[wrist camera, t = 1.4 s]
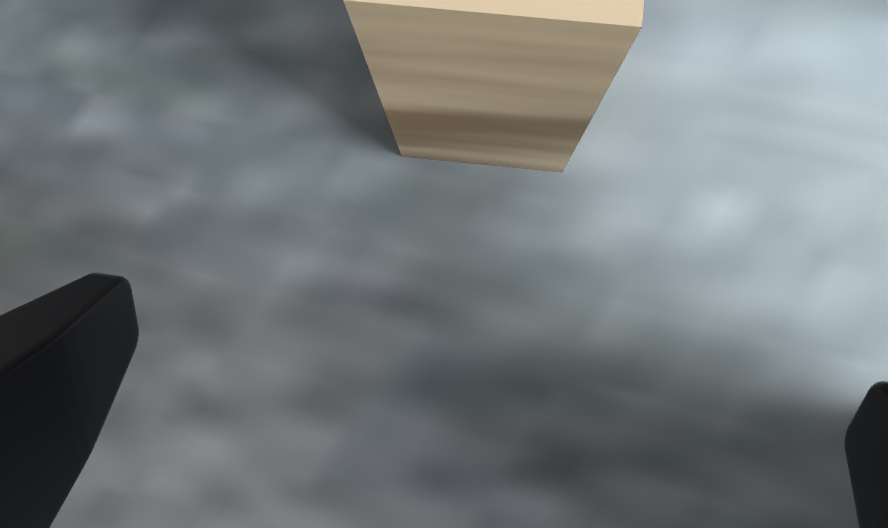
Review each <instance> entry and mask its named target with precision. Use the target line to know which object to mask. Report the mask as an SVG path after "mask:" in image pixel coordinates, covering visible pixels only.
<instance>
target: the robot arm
mask: <svg viewBox="0 0 888 528" xmlns="http://www.w3.org/2000/svg"><path fill="white" fill-rule="evenodd" d="M138 336H139V329H138V322H137V317H136V311H135V306H134V300H133V295H132V289H131V286H130V283H129V281H128V280H127V279H126V278H124V277H122V276H117V275H109V274H102V273H91V274H88V275H86V276H84V277H82V278H80V279H78V280H75V281H73V282H71V283H69V284H67V285H65V286H63V287H60V288H58V289H56V290H54V291H52V292H50V293H48V294H45V295H43V296H41V297H39V298H37V299H35V300H33V301H31V302H28V303H26V304H24V305H22V306H20V307H18V308H16V309H13V310H11V311H9V312H7V313H5V314H3V315H1V316H0V528H50V526H51V524H52V522H53V520H54V519H55V517H56V515H57V513H58V512H59V510H60V508H61V506H62V504H63V503H64V501H65V499H66V497H67V496H68V494H69V492H70V490H71V489H72V487H73V485H74V483H75V481H76V480H77V478H78V476H79V474H80V473H81V471H82V469H83V467H84V465H85V463H86V461H87V460H88V458H89V456H90V454H91V452H92V450H93V448H94V445H95V443H96V441H97V439H98V437H99V434H100V432H101V430H102V427H103V425H104V423H105V420H106V418H107V415H108V413H109V411H110V408H111V406H112V404H113V401H114V399H115V396H116V394H117V392H118V389H119V387H120V385H121V382H122V380H123V377H124V375H125V373H126V370H127V368H128V366H129V363H130V361H131V358H132V356H133V354H134V351H135V349H136V346H137V342H138ZM845 451H846V457H847V462H848V468H849V473H850V479H851V484H852V490H853V495H854V501H855V506H856V512H857V517H858V523H859V528H888V382H886V381H881V382H877V383H875V384H874V385H872V386H871V388H870V389H869V390H868V392H867V394H866V396H865V398H864V399H863V401H862V403H861V405H860V407H859V408H858V410H857V412H856V414H855V416H854V417H853V419H852V421H851V423H850V425H849V426H848V429H847V432H846V436H845Z"/></svg>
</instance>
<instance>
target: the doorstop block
mask: <svg viewBox="0 0 888 528" xmlns="http://www.w3.org/2000/svg"><path fill="white" fill-rule="evenodd" d="M343 1H344V4H345V6H346V9H347V12H348V14H349V17H350V20H351V22H352V25H353V28H354V30H355V33H356V36H357V38H358V41H359V44H360V46H361V49H362V52H363V54H364V57H365V60H366V62H367V65H368V68H369V70H370V73H371V76H372V79H373V81H374V84H375V87H376V89H377V92H378V95H379V97H380V100H381V103H382V105H383V108H384V111H385V113H386V116H387V119H388V121H389V124H390V127H391V129H392V132H393V135H394V137H395V140H396V143H397V145H398V148H399V151H400V153H401V156H404V157H414V158H425V159H435V160H445V161H455V162H465V163H475V164H485V165H496V166H506V167H516V168H526V169H536V170H546V171H557V172H563V170H564V168H565V166H566V164H567V163H568V161H569V159H570V157H571V155H572V153H573V152H574V150H575V148H576V146H577V144H578V142H579V141H580V139H581V137H582V135H583V133H584V132H585V130H586V128H587V126H588V124H589V122H590V121H591V119H592V117H593V115H594V113H595V111H596V110H597V108H598V106H599V104H600V102H601V100H602V99H603V97H604V95H605V93H606V91H607V90H608V88H609V86H610V84H611V82H612V80H613V79H614V77H615V75H616V73H617V71H618V69H619V68H620V66H621V64H622V62H623V60H624V59H625V57H626V55H627V53H628V51H629V49H630V48H631V46H632V44H633V42H634V40H635V38H636V37H637V35H638V33H639V31H640V29H641V28H642V19H643V7H644V0H343Z"/></svg>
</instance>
